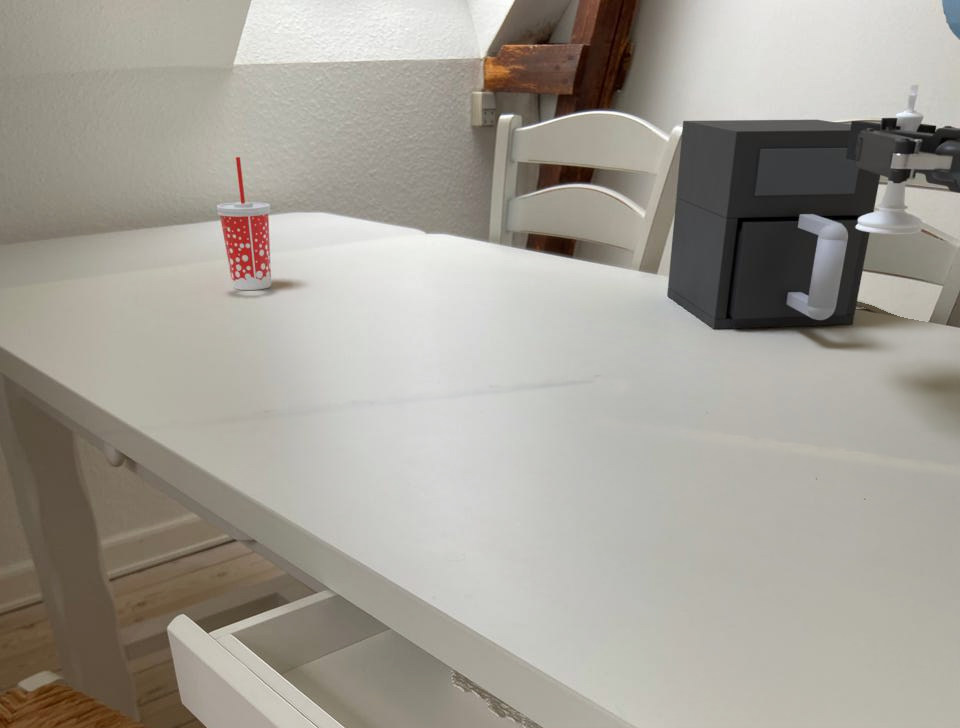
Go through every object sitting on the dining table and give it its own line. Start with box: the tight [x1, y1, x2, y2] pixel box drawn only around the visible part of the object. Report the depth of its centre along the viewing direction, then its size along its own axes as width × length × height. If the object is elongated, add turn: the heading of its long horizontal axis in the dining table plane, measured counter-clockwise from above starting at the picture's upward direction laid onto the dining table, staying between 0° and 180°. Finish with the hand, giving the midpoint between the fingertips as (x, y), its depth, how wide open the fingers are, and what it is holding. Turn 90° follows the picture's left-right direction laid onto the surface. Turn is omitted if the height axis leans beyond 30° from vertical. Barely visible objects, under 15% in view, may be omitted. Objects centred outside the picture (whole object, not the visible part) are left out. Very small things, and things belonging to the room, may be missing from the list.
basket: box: [727, 214, 862, 320], centre depth 102 cm, size 23×12×10 cm, turn 8°
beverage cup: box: [216, 156, 272, 291], centre depth 117 cm, size 6×6×14 cm
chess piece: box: [855, 84, 925, 235], centre depth 77 cm, size 5×5×10 cm
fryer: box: [666, 119, 881, 330], centre depth 105 cm, size 16×15×18 cm
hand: (869, 139), depth 81 cm, fingers closed on chess piece, 2 cm apart
